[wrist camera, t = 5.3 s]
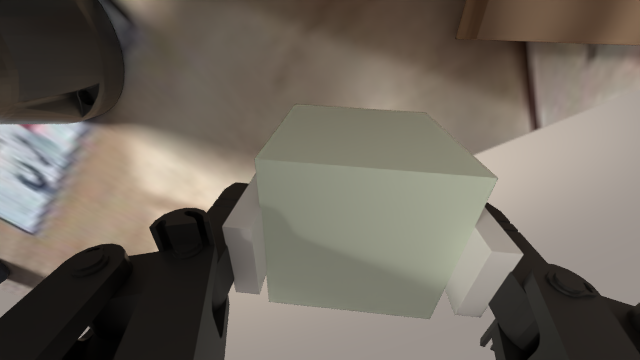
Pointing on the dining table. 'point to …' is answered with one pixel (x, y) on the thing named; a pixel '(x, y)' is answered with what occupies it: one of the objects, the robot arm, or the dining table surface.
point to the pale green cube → (366, 209)
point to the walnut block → (552, 21)
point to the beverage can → (3, 272)
